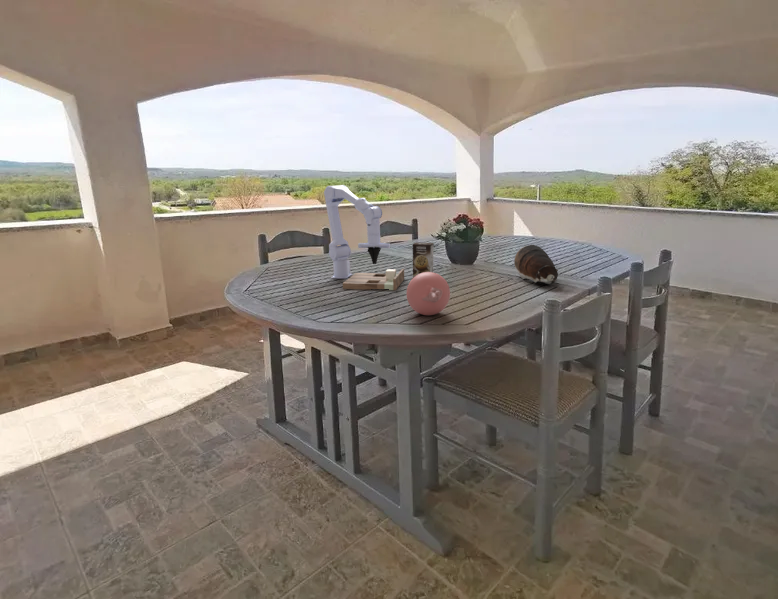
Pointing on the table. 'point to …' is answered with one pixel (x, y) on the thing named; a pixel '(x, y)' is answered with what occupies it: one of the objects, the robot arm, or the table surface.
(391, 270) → the block
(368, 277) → the deck
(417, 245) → the cookie box
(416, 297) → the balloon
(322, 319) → the table surface
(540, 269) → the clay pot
